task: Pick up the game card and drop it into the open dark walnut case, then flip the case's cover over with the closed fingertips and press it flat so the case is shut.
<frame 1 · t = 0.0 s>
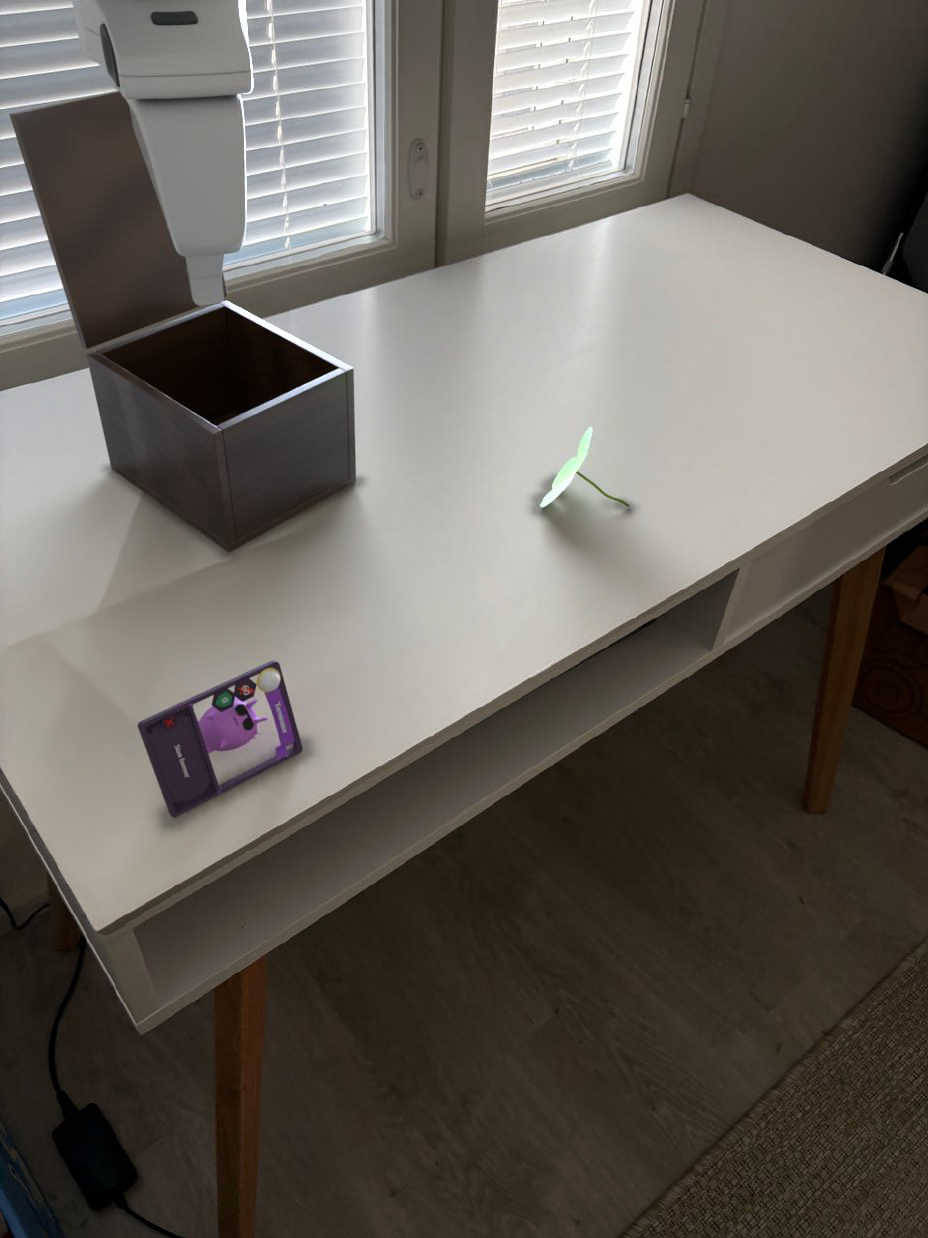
hand: (194, 266, 63), 23 cm above the table, tool pointing down, fingers open, 8 cm apart
case: (234, 475, 86), on the table
cover: (130, 214, 77), point 19 cm above the table, hinge at 100.0°
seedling: (577, 505, 86), on the table
game card: (222, 762, 64), on the table
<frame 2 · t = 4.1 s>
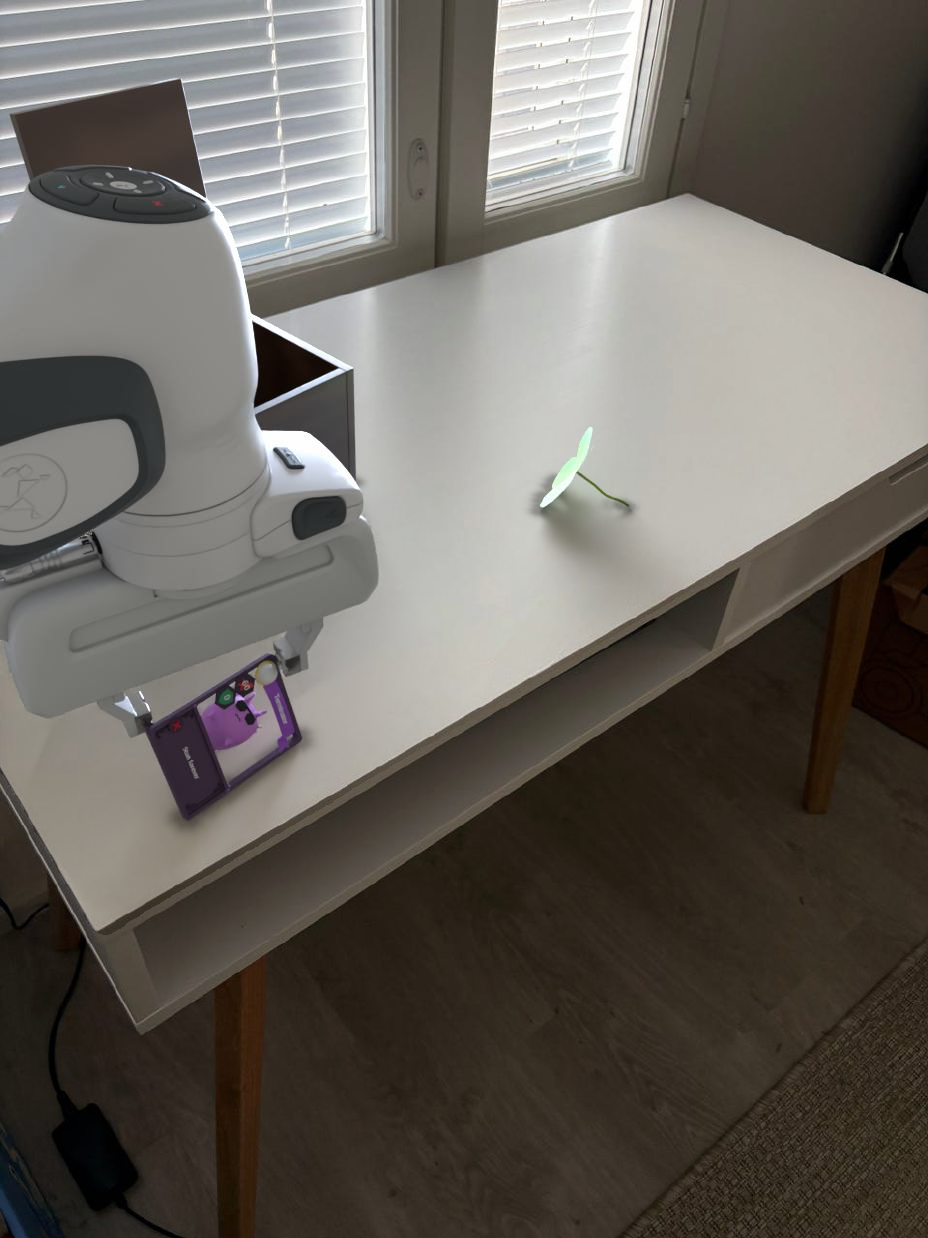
hand: (217, 695, 60), 6 cm above the table, tool pointing down, fingers open, 8 cm apart
game card: (224, 761, 64), on the table, touching gripper
everything else where it was.
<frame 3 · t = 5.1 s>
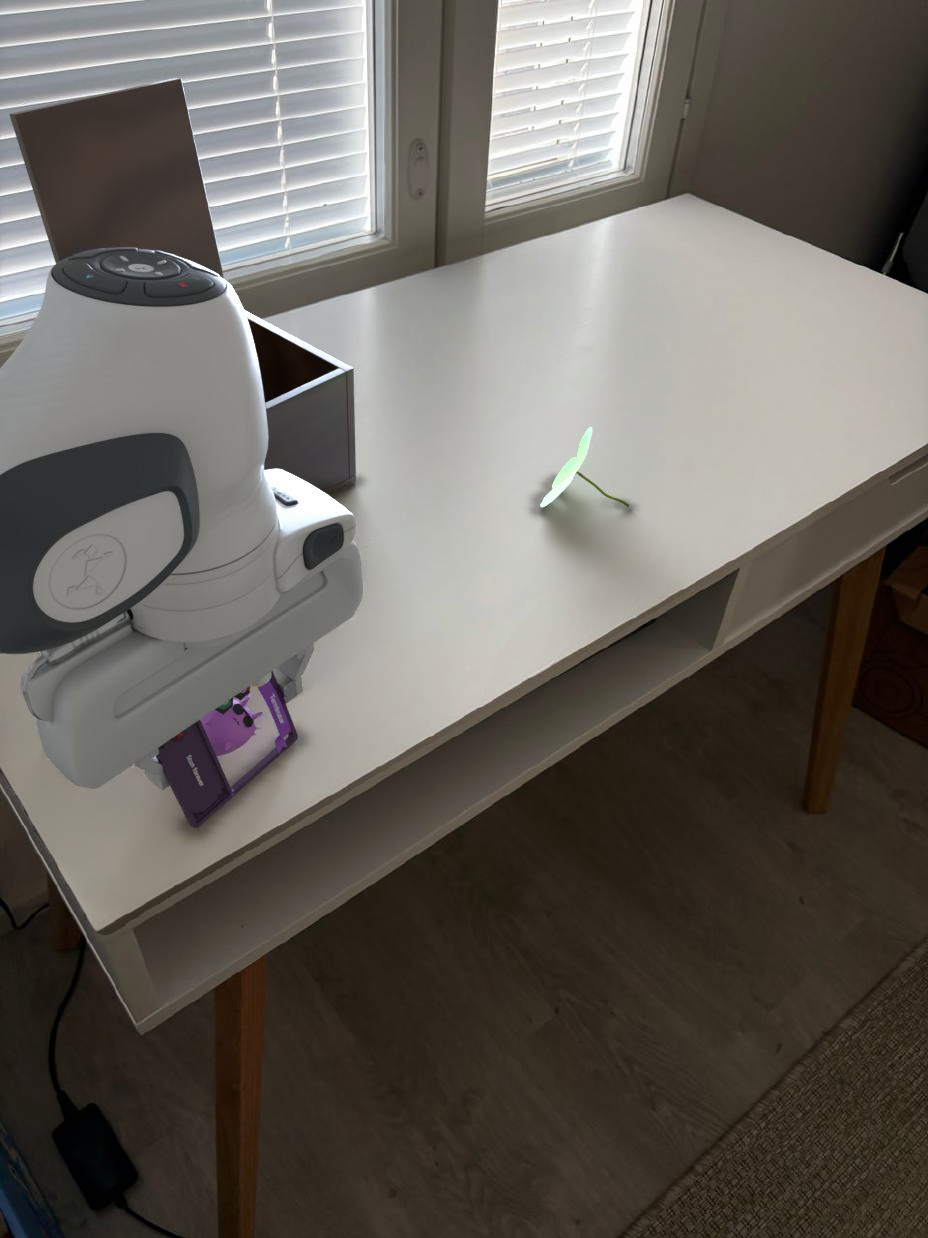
hand: (228, 733, 62), 3 cm above the table, tool pointing down, fingers closed on game card, 8 cm apart
game card: (222, 766, 63), on the table, touching gripper
everything else where it was.
when the fingers open (15 cm above the table, at t = 13.5 s): game card drops 5 cm, resting on case.
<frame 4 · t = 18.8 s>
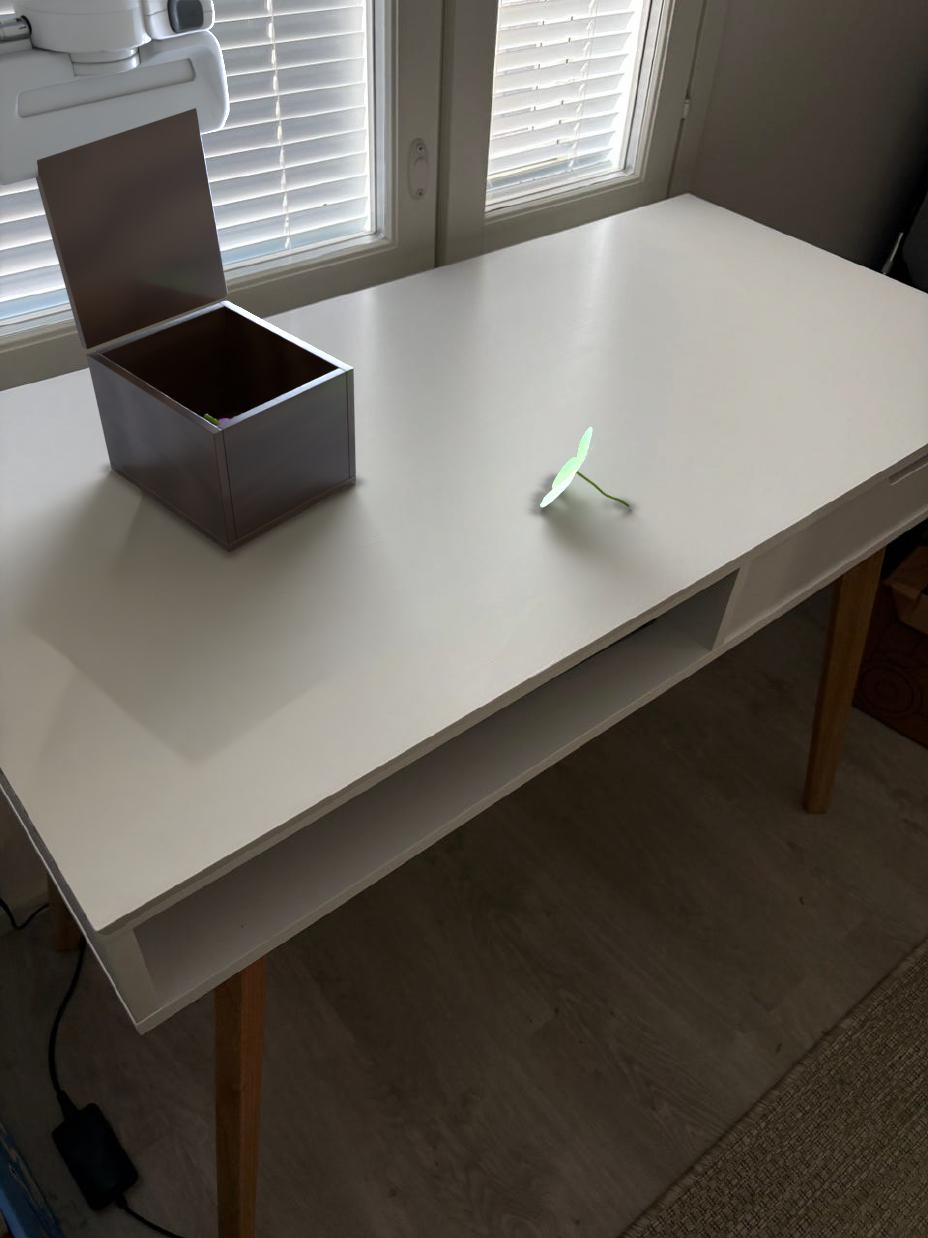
hand: (119, 213, 77), 19 cm above the table, tool pointing down, fingers closed
cover: (135, 216, 76), point 19 cm above the table, hinge at 95.5°, touching gripper
game card: (210, 446, 78), point 6 cm above the table, touching case
everything else where it was.
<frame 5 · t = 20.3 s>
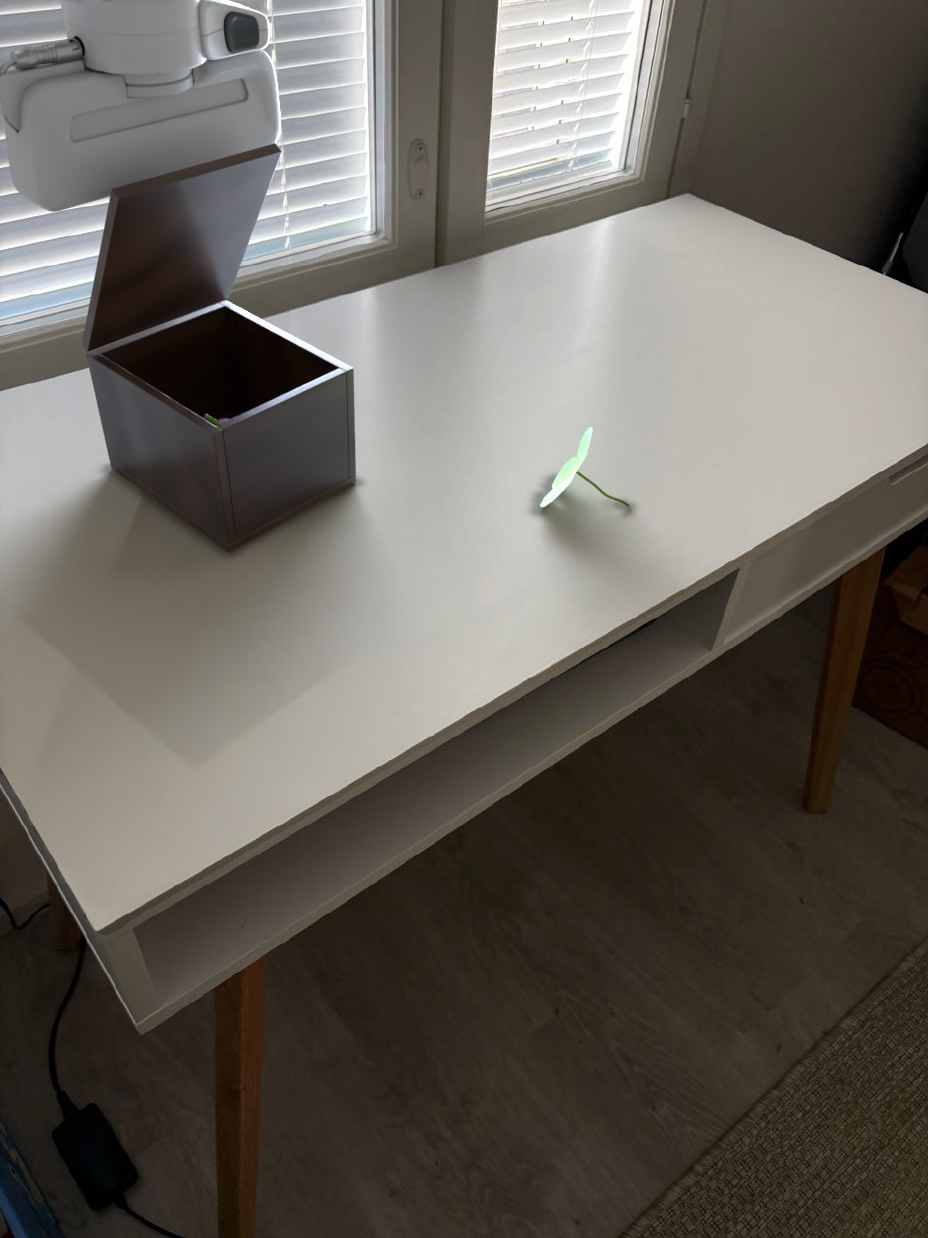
hand: (167, 238, 75), 19 cm above the table, tool pointing down, fingers closed
cover: (178, 251, 75), point 18 cm above the table, hinge at 59.3°, touching gripper
everything else where it was.
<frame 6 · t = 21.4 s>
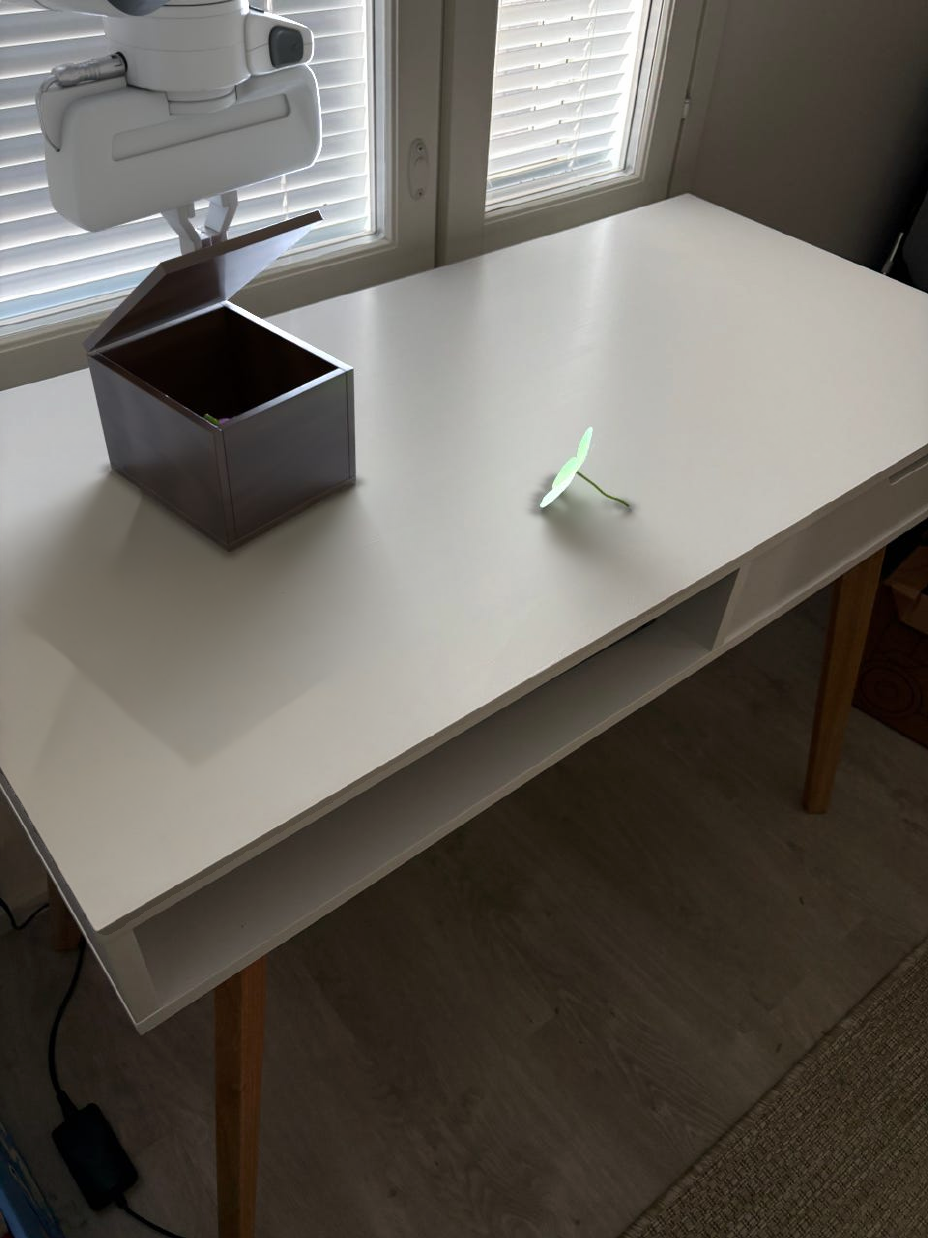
hand: (205, 257, 73), 19 cm above the table, tool pointing down, fingers closed
cover: (198, 283, 75), point 17 cm above the table, hinge at 40.2°, touching gripper
everything else where it was.
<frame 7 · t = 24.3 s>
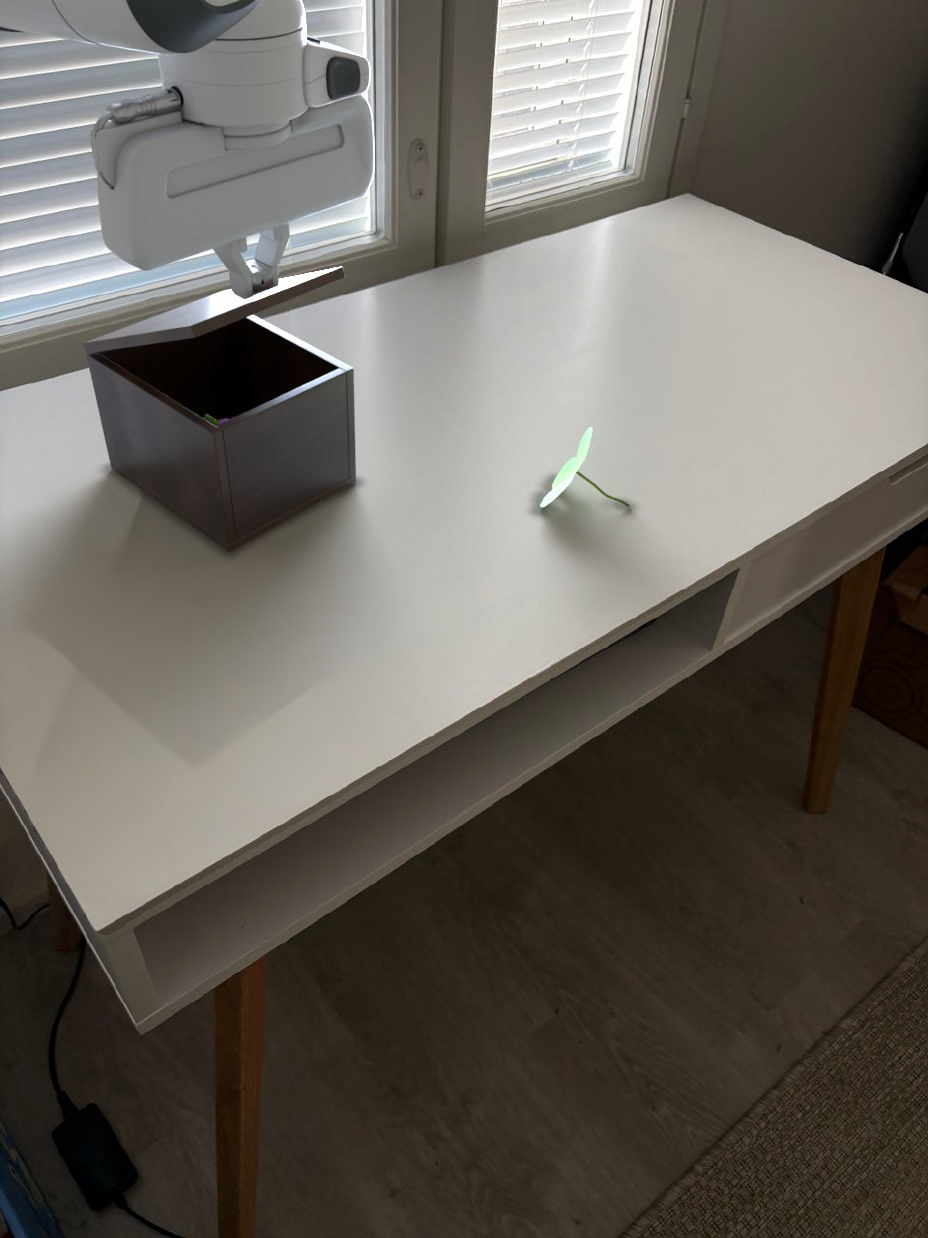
hand: (255, 290, 71), 18 cm above the table, tool pointing down, fingers closed
cover: (211, 310, 76), point 15 cm above the table, hinge at 25.4°, touching gripper
everything else where it was.
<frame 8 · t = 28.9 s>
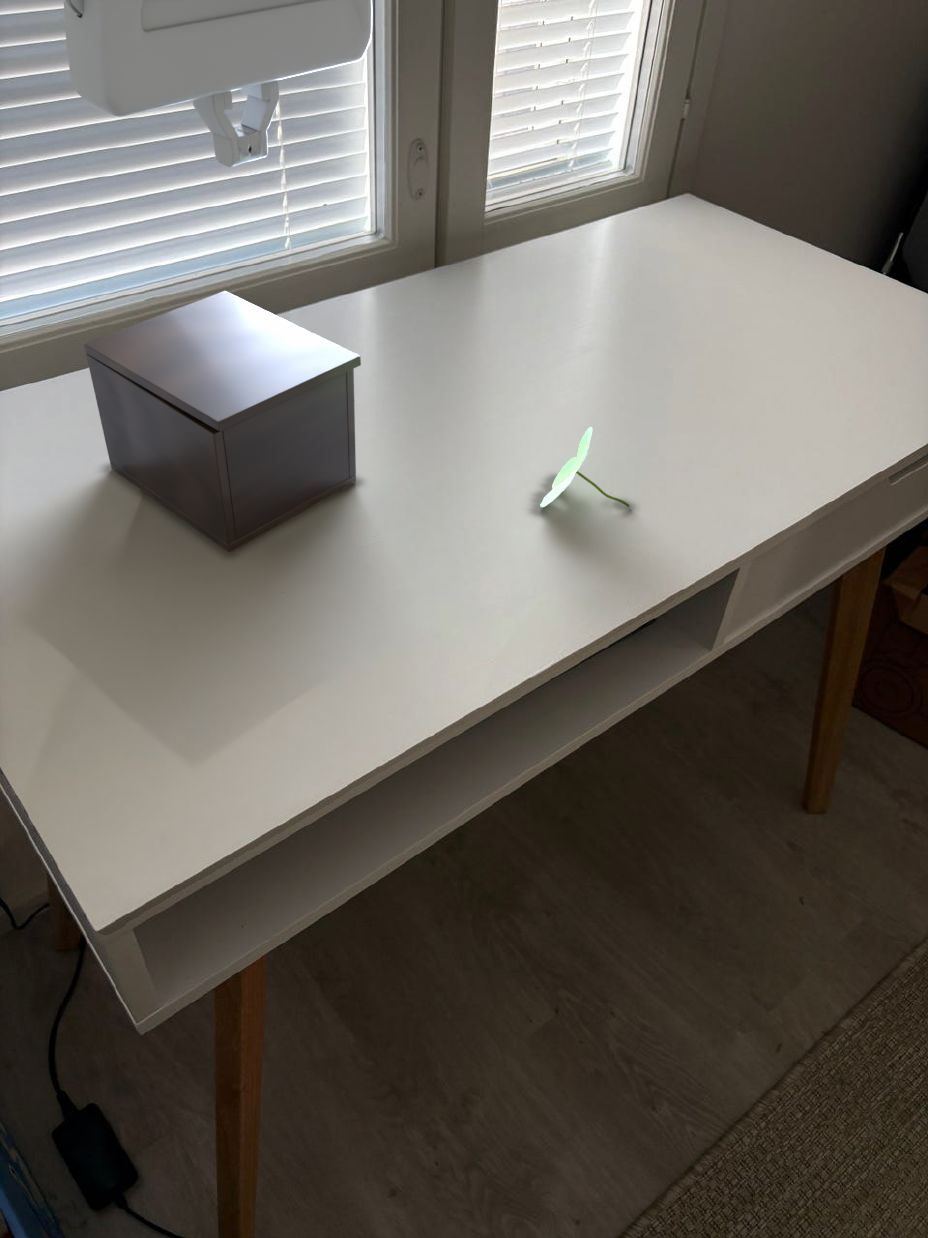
hand: (242, 159, 65), 27 cm above the table, tool pointing down, fingers closed
cover: (222, 354, 78), point 12 cm above the table, hinge at 1.8°
everything else where it was.
at the end: game card inside the target area in the case (4.5 cm from its centre), point 5.9 cm above the case's base; cover at +2° (first picture: +100°) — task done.
